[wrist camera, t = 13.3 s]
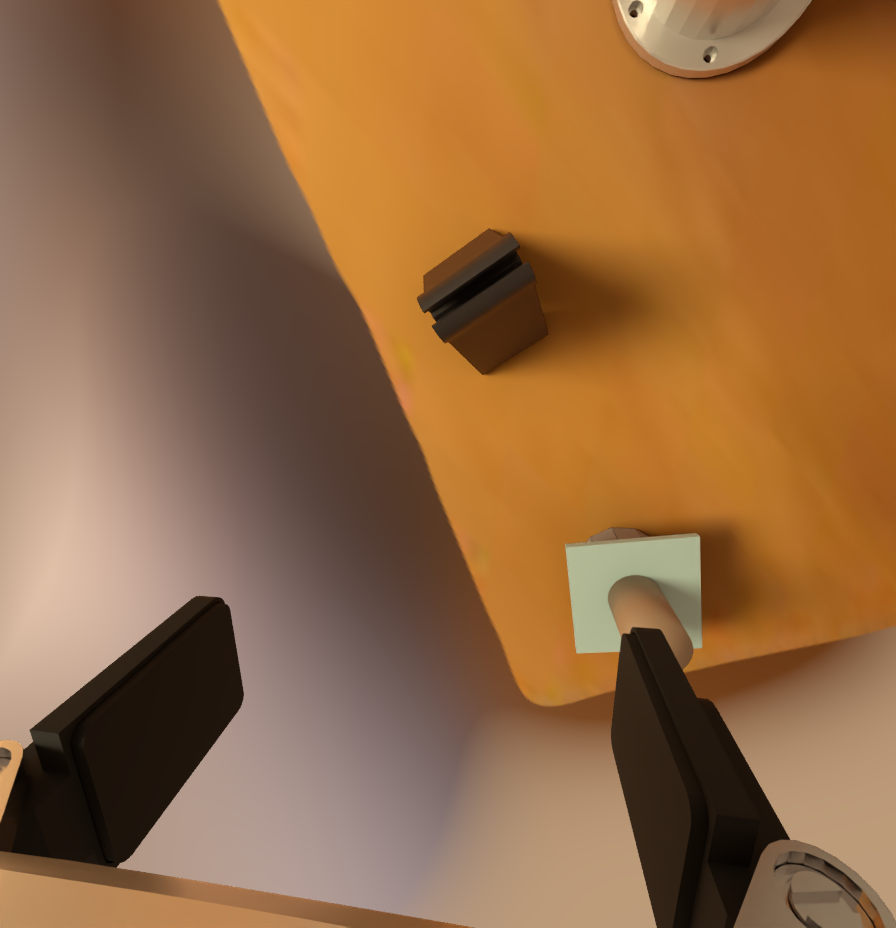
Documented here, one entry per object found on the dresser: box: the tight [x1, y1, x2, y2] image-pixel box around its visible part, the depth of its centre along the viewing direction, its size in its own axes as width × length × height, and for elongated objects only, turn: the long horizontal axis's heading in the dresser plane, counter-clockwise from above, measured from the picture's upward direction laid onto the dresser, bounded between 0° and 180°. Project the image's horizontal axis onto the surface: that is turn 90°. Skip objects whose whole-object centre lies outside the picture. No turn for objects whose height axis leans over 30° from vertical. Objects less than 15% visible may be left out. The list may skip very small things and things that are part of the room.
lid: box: [565, 533, 702, 669], centre depth 31 cm, size 10×10×7 cm
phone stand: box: [417, 229, 548, 375], centre depth 29 cm, size 9×6×12 cm, turn 32°
